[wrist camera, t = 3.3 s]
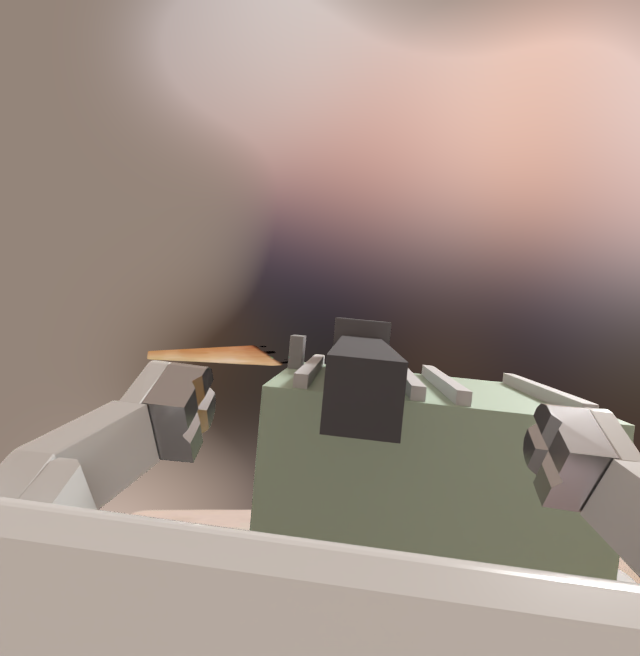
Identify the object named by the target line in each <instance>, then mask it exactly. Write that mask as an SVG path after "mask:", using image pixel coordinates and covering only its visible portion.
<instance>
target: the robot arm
mask: <svg viewBox="0 0 640 656" xmlns="http://www.w3.org/2000/svg"><path fill="white" fill-rule="evenodd" d="M212 382H213V374H212V369H211V368H209V367H205V366H197V365H190V364H182V363H174V362H172V363H171V362H165V361H157V360H153V361H151V362H149V363H148V364H147V365H146V367H145V368H144V369H143V371H142V372H141V373H140V375H139V376H138V377H137V379H136V380H135V381H134V382H133V384H132V385H131V386H130V388H129V389H128V390H127V392H126V393H125V394H124V395H123V397H122V398H121V399H120V401H114V400H113V401H111V402H109V403H107V404H105V405H103V406H101V407H99V408H97V409H95V410H93V411H91V412H89V413H87V414H85V415H83V416H81V417H79V418H77V419H75V420H73V421H71V422H69V423H67V424H65V425H63V426H61V427H59V428H57V429H54V430H53V431H50V432H49V433H47V434H45V435H42V436H40V437H38V438H36V439H34V440H32V441H30V442H28V443H26V444H24V445H22V446H20V447H18V448H16V449H14V450H13V451H12V452H11V453H10V454H9V455H8V456H7V457H6V458H5V460H3V462H2V463H1V464H0V656H640V584H638V583H631V582H623V581H616V580H609V579H601V578H594V577H587V576H579V575H572V574H565V573H557V572H550V571H543V570H535V569H528V568H521V567H513V566H506V565H499V564H491V563H484V562H477V561H470V560H462V559H455V558H448V557H440V556H433V555H425V554H418V553H411V552H403V551H396V550H389V549H381V548H374V547H367V546H359V545H352V544H345V543H337V542H330V541H323V540H315V539H308V538H301V537H293V536H286V535H279V534H271V533H264V532H257V531H250V530H242V529H235V528H228V527H220V526H213V525H206V524H198V523H191V522H184V521H176V520H169V519H161V518H154V517H147V516H139V515H132V514H125V513H116V512H110V511H103V510H99V509H100V508H102V507H103V506H104V505H105V504H107V503H108V502H109V501H110V500H112V499H113V498H114V497H116V496H117V495H118V494H119V493H120V492H122V491H123V490H124V489H126V488H127V487H128V486H129V485H131V484H132V483H133V482H134V481H136V480H137V479H138V478H139V477H140V476H142V475H143V474H144V473H146V472H147V471H148V470H150V469H151V468H152V467H153V466H155V465H156V464H157V463H158V462H159V461H160V460H170V461H181V462H190V463H193V462H194V460H195V458H196V456H197V454H198V452H199V450H200V448H201V445H202V443H203V439H202V433H204V432H205V431H206V430H208V429H209V428H210V426H211V423H212V421H213V417H214V413H215V404H216V399H215V393H214V392H213V391H212V389H211V388H210V386H211V384H212ZM533 416H534V418H535V421H536V424H534V425H533V426H531V427H529V428H528V429H527V432H526V434H525V437H524V442H523V453H524V459H525V462H526V465H527V467H528V468H529V469H530V470H531V471H532V472H533V473H535V474H536V477H535V479H534V481H533V484H534V487H535V489H536V492H537V495H538V497H539V500H540V503H541V505H542V507H547V508H554V509H560V510H567V511H573V512H580V515H581V516H582V517H583V518H584V519H585V520H586V521H587V522H588V523H589V524H590V525H591V526H592V528H593V529H594V530H595V531H596V532H597V533H598V534H599V535H600V536H601V537H602V538H603V539H604V540H605V541H606V542H607V543H608V544H609V546H610V547H611V548H612V549H613V550H614V551H615V552H616V553H617V554H618V555H619V556H620V557H621V558H622V559H623V560H624V561H625V562H626V563H627V565H628V566H629V567H630V568H631V569H632V570H633V571H634V572H635V573H636V574H637V575H638V576H639V577H640V453H639V451H638V450H637V449H636V447H635V445H634V444H633V442H632V441H631V439H630V438H629V436H628V435H627V434H626V432H625V431H624V429H623V428H622V426H621V425H620V423H619V422H618V420H617V419H616V417H615V416H614V414H613V413H612V412H611V411H609V410H608V409H598V408H587V407H585V408H581V407H572V406H562V405H552V404H543V403H541V404H540V405H539V406H538V407H537V408H536V410H535V413H534V415H533ZM159 459H160V460H159Z"/></svg>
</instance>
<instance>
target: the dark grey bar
mask: <svg viewBox="0 0 640 656" xmlns="http://www.w3.org/2000/svg"><path fill="white" fill-rule="evenodd" d="M390 333H391V323H390V322H381V321H369V320H359V319H348V318H336V319H335V329H334V340H333V347H332V349H331V350H330V351H329V352H328V354H327V357H326V368H325V379H324V389H323V400H322V411H321V422H320V433H319V434H321V435H330V436H338V437H347V438H355V439H364V440H373V441H381V442H390V443H399V444H400V442H401V432H402V421H403V411H404V401H405V391H406V381H407V371H408V362H407V361H406V360H405V359H404V358H402V357H401V356H400V355H399V354H398V353H397V352H396V351H394V350H393V349H392V348H391V347H390V346H389V342H390Z"/></svg>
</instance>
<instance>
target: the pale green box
mask: <svg viewBox="0 0 640 656" xmlns="http://www.w3.org/2000/svg"><path fill="white" fill-rule="evenodd" d="M305 343H306V336H301V335H291V336H290V348H289V359H288V368H286V369H285V370H283V371H282V372H281V373H279V374H278V375H277V376H275V377H274V378H272V379H271V380H270V381H268V382H267V383H266V384H264V385H263V386H262V397H261V408H260V419H259V431H258V442H257V454H256V466H255V476H254V488H253V499H252V510H251V522H250V531H257V532H264V533H271V534H279V535H286V536H293V537H301V538H308V539H315V540H323V541H330V542H337V543H345V544H352V545H359V546H367V547H374V548H381V549H389V550H396V551H403V552H411V553H418V554H425V555H433V556H440V557H448V558H455V559H462V560H470V561H477V562H484V563H491V564H499V565H506V566H513V567H521V568H528V569H535V570H543V571H550V572H557V573H565V574H572V575H579V576H587V577H594V578H601V579H609V580H616V581H617V573H618V565H619V555H618V554H617V553H616V552H615V551H614V550H613V549H612V548H611V547H610V546H609V544H608V543H607V542H606V541H605V540H604V539H603V538H602V537H601V536H600V535H599V534H598V533H597V532H596V531H595V530H594V529H593V528H592V526H591V525H590V524H589V523H588V522H587V521H586V520H585V519H584V518H583V517H582V516H581V515H580V512H573V511H567V510H560V509H554V508H547V507H542V505H541V503H540V500H539V497H538V495H537V492H536V489H535V487H534V484H533V481H534V479H535V477H536V474H535V473H533V472H532V471H531V470H530V469H529V468H528V467H527V465H526V462H525V459H524V453H523V442H524V437H525V434H526V432H527V429H528V428H529V427H531V426H533V425H534V424H536V421H535V418H534V416H533V415H534V413H535V410H536V408H537V407H538V406H539V405H540V404H541V403H543V404H552V405H562V406H572V407H581V408H585V407H587V408H598V409H599V405H598V404H595V403H592V402H589V401H586V400H584V399H581V398H578V397H576V396H573V395H570V394H567V393H565V392H562V391H559V390H556V389H554V388H551V387H548V386H545V385H542V384H540V383H537V382H534V381H532V380H529V379H526V378H523V377H520V376H518V375H515V374H507V373H504V374H503V382H494V381H484V380H474V379H464V378H454V377H449V376H447V375H445V374H444V373H443V372H441V371H439V370H438V369H437V368H435V367H433V366H428V365H423V367H422V374H415V373H412V372H411V371H410V370H409V369H408V371H407V381H406V391H405V401H404V411H403V421H402V432H401V442H400V444H399V443H390V442H381V441H373V440H364V439H355V438H347V437H338V436H330V435H321V434H319V433H320V422H321V411H322V400H323V389H324V379H325V368H326V364H324V358H325V355H317V354H315V355H314V356H313V357H311V358H310V359H309V360H308V361H307V362H304V355H305ZM617 420H618V422H619V423H620V425H621V426H622V428H623V429H624V431H625V432H626V434H627V435H628V436H629V438H630V439H631V441H632V442H633V437H634V428H635V426H634V425H632V424H629V423H627V422H624V421H621V420H619V419H617Z"/></svg>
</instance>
